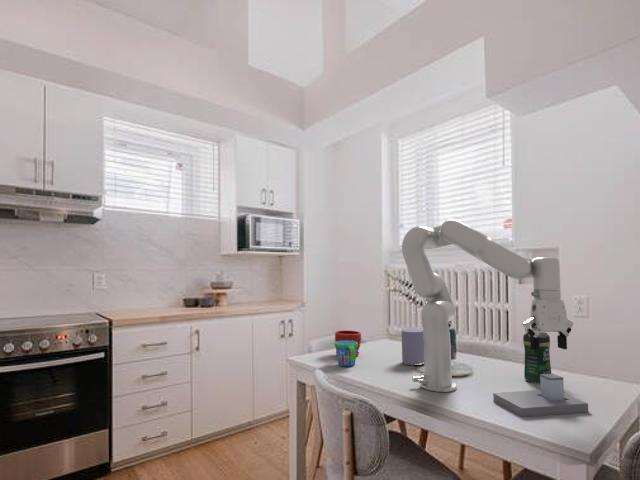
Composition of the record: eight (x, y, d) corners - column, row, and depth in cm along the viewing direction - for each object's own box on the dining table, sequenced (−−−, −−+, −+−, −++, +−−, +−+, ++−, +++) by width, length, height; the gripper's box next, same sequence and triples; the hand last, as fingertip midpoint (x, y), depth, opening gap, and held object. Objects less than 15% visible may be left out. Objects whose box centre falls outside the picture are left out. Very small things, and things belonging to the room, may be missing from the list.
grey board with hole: (522, 417, 112) (521, 408, 112) (493, 400, 126) (493, 393, 126) (588, 411, 115) (587, 403, 116) (553, 396, 129) (552, 389, 129)
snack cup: (331, 361, 181) (330, 340, 181) (352, 360, 183) (352, 338, 184) (339, 370, 165) (339, 346, 166) (363, 368, 168) (362, 345, 169)
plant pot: (353, 360, 184) (353, 334, 185) (330, 356, 191) (330, 332, 192) (365, 354, 195) (365, 330, 195) (343, 352, 202) (343, 328, 203)
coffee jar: (541, 385, 141) (539, 334, 143) (521, 380, 148) (518, 331, 149) (556, 381, 146) (553, 332, 148) (535, 376, 153) (533, 329, 154)
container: (429, 365, 172) (428, 331, 173) (407, 366, 170) (406, 332, 171) (419, 360, 182) (418, 328, 183) (399, 361, 180) (398, 329, 181)
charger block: (551, 408, 119) (550, 378, 119) (541, 403, 123) (539, 374, 124) (565, 407, 119) (563, 377, 120) (554, 402, 124) (552, 373, 125)
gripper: (531, 296, 119) (532, 352, 118) (580, 296, 122) (582, 350, 120) (515, 294, 126) (516, 347, 125) (561, 294, 129) (563, 345, 128)
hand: (548, 349), depth 123 cm, fingers open, 9 cm apart
